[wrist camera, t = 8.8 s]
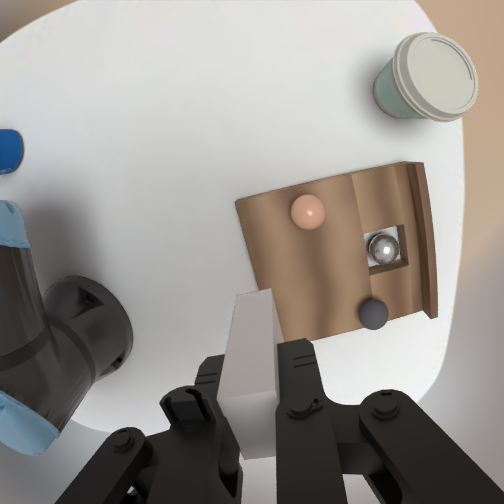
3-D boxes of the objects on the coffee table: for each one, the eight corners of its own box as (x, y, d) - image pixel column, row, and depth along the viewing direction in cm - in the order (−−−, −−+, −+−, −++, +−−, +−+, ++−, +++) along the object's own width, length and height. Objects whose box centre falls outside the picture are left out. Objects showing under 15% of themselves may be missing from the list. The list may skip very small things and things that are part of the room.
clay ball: (293, 229, 34) (296, 237, 30) (286, 197, 33) (287, 201, 30) (326, 221, 33) (332, 228, 30) (318, 189, 32) (324, 192, 29)
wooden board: (275, 338, 40) (276, 360, 36) (237, 199, 36) (232, 206, 31) (421, 299, 38) (437, 316, 33) (404, 161, 33) (423, 162, 29)
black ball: (357, 324, 37) (364, 339, 33) (353, 298, 36) (361, 311, 32) (384, 316, 36) (393, 330, 33) (381, 290, 35) (391, 303, 32)
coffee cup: (436, 119, 32) (495, 110, 20) (378, 138, 33) (425, 131, 21) (410, 55, 30) (458, 23, 18) (349, 69, 31) (383, 34, 19)
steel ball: (365, 266, 36) (386, 271, 33) (360, 237, 35) (382, 241, 32) (385, 255, 37) (406, 260, 34) (381, 228, 36) (402, 231, 33)
